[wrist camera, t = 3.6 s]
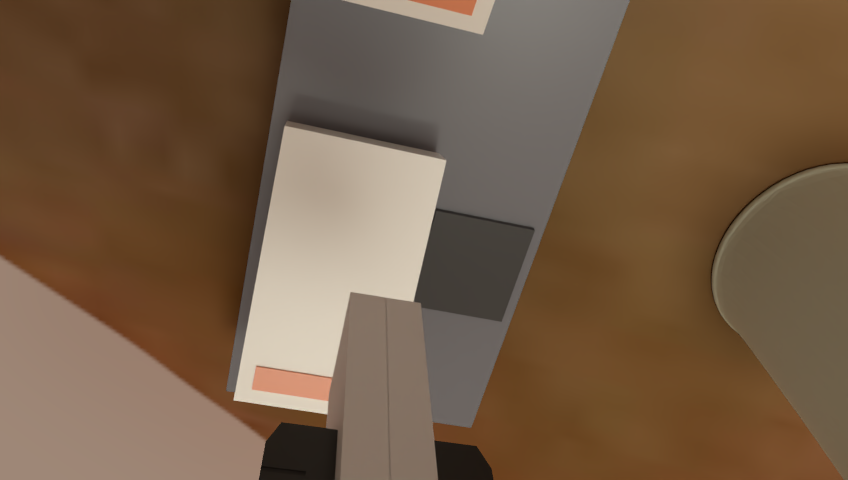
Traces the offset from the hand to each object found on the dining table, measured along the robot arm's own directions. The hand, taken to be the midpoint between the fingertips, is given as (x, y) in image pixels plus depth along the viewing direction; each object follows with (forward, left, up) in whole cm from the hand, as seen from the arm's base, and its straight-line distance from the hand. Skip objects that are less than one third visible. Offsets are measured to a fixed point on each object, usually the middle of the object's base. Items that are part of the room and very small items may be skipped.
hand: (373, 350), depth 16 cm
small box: (+2, -2, -8) cm, 9 cm away
